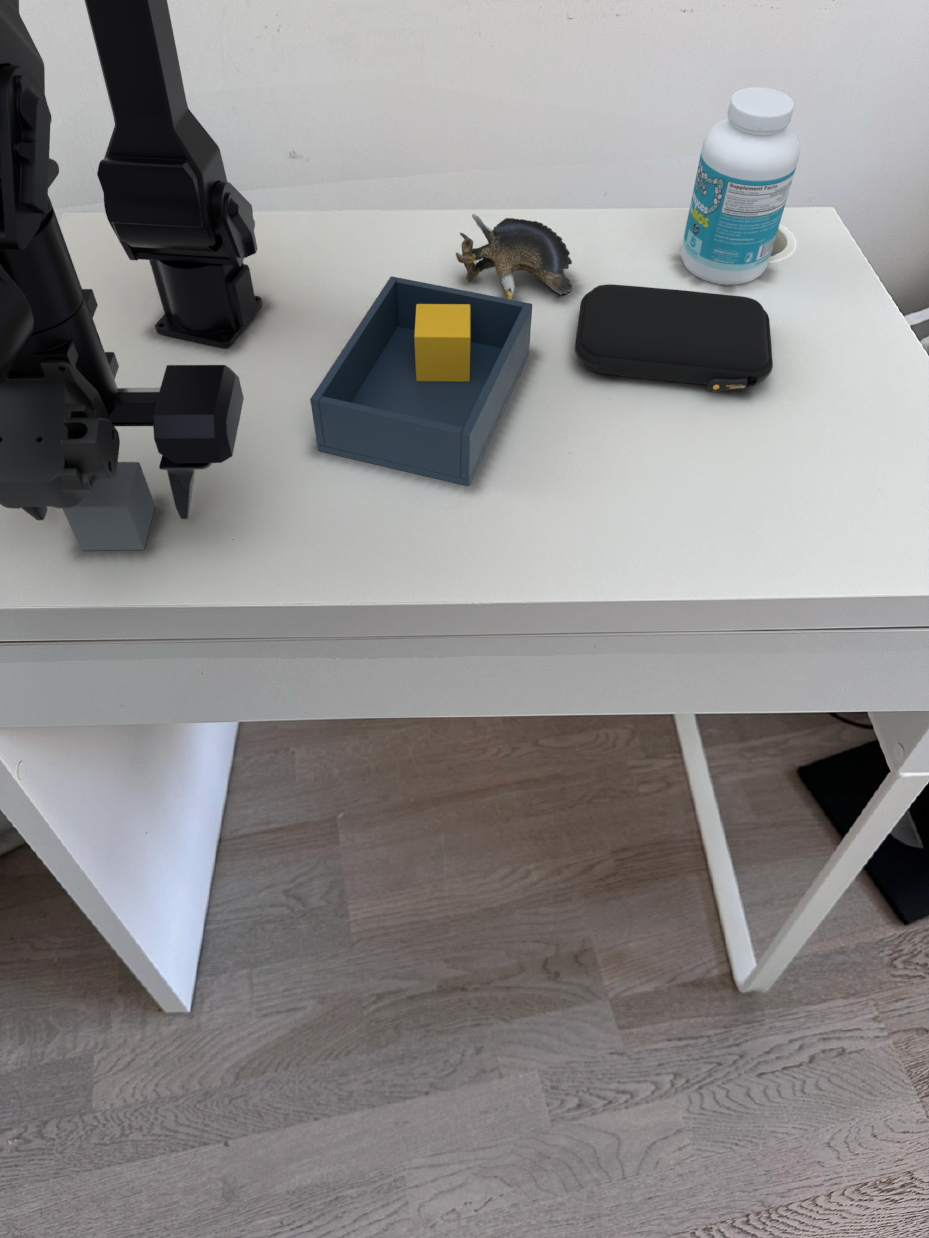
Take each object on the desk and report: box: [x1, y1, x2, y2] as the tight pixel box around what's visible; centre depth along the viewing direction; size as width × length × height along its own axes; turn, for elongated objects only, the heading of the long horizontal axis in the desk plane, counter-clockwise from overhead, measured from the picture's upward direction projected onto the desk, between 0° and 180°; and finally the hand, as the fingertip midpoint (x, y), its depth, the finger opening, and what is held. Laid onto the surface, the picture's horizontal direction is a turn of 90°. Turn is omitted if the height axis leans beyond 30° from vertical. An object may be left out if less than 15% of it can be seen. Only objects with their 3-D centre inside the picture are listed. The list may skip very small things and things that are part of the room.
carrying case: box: [574, 283, 774, 393], centre depth 72 cm, size 11×3×15 cm
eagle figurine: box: [455, 213, 574, 300], centre depth 76 cm, size 8×7×9 cm
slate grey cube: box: [61, 461, 156, 551], centre depth 60 cm, size 4×4×4 cm
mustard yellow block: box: [414, 304, 470, 382], centre depth 70 cm, size 4×4×4 cm
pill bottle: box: [680, 86, 801, 286], centre depth 75 cm, size 8×7×14 cm
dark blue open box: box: [309, 276, 533, 487], centre depth 68 cm, size 11×15×5 cm
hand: (114, 515), depth 61 cm, fingers open, 9 cm apart
